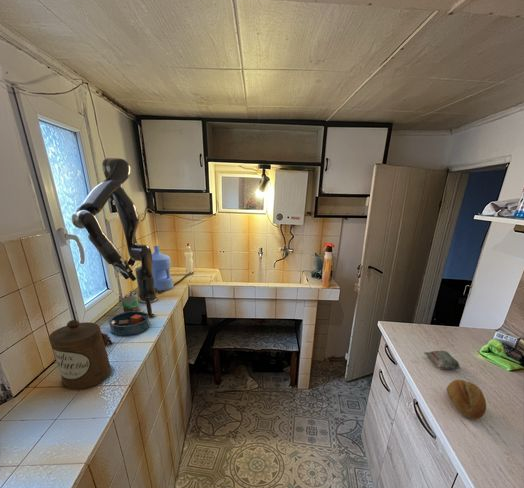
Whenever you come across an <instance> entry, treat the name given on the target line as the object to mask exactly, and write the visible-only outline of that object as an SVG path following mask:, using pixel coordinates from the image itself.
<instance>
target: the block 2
mask: <svg viewBox="0 0 524 488" xmlns="http://www.w3.org/2000/svg"><path fill="white" fill-rule="evenodd" d="M130 320H131V325H134V324H138V323H140V322H143V316H142V315H134V316H132V317H130Z"/></svg>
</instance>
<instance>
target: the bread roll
mask: <svg viewBox="0 0 524 488" xmlns="http://www.w3.org/2000/svg"><path fill="white" fill-rule="evenodd" d="M446 393H447V395H448V398H449V399H450V401H451V403H452V405H454V407H455V409H456V410H458V412H460V413H461V414H462V415H463V416H465V417H467V418H469V419H472V420H478V419H481V418H482V417H483V416H484V415H485V414H486V410H487V401H486V397H485V395H484V393H483V391H482V390H481V389H480V387H479V386H478V385H477V384H475V383H472V382H470V381H467V380H463V379H454V380H452V381H451V382H450V383H449V384H448V385H447V386H446Z"/></svg>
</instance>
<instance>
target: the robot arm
mask: <svg viewBox="0 0 524 488" xmlns="http://www.w3.org/2000/svg"><path fill="white" fill-rule="evenodd" d="M101 166H102V167H101V169H102V172H103V175H104V177H105V179H104V180H103V181H102V182H100V183H99V184H98V185H96V186H94V187H93V189H92V190H91V191H90V192H89V193H88V195H87V196H86V197H85V199H84V201H83V203H81V204H80V205H79V206H78V208H76V209H75V211H74V212H73V213H72V214H71V215H72V216H71V223H72V225H73V226H74V227H75V228H78V229H81V230H84V229H85V230H86V231H87V233H88V236H87V238H88V241H90V242H91V244H92V245H93V246H94V247H95V249H96V250H97V252H98V253H99V254H100V256H101V257H102V258H103V259H104V261H105V262H106V263H107V264H108V265H111V266H112V267H113V268H114V269H115V271H116V272H117V273H119V274H120V275H121V276H122V277H123V278H124V280H128V279H130V280H131V282H135V281H136V283H137V290H138V296H139V302H140V303H142V304H146V301H145V297H150V303H151V304H152V303H154V302H156V301H157V293H158V294H162V293H164V292H165V291H164V290H163V291H159V290H157V288H155V285H154V278H153V271H152V268H153V262H152V254H153V252H152V249H151V247H150V246H149V245H148V244H138V239H137V230H138V228H139V225H140V218H139V217H140V216H139V213H138V209H137V206H136V205H135V203H134V201H132V199H131V198H130V196H129V195H128V193H127V192H126V191H125V188H124V187H123V184H124V183H125V182H126V181H128V179H129V178H130V176H131V166H130V164H129V162H128V161H127V160H126V159H123V158H120V157H119V158H118V157H106V158H104V159H103V160H102V165H101ZM111 197H112V198H113V201H114V204H115V207H116V210H117V211H116V212H117V214H118V218H119V221H120V223H121V227H122V230H123V234H124V238H125V243H126V247H127V252H128V255H129V258H130V259H131V260H132V261H134V262H141V263H140V266H137V267H135V268H134V271H133V270H132V268H131V267H130V266H129V264H128V263H127V262H126V261H123V260H121V259H122V258H123V254H122V253H121V252H120V250H119V249H118V248H117V246H116V245H115V244H114V242H112V241H111V240H110V238H109V237H108V236H107V234H106V233H105V232H104V230H103V228H102V226H101V224H100V221H99V220H98V218H97V217H96V215H98V214H99V213H100V212H102V210H103V208H104V207H105V206H106V204H107V203H108V201H109V199H110V198H111ZM133 272H135V273H133ZM191 272H192V273H191ZM134 274H135V275H134ZM191 274H194V272H193V271H189V272H188V273H187V274H185V275H184V276H183V277H182V278H180V279H179V280H178V281H176V282H175V283H173V285H174V286H176V285H177V284H179V283H181V282H182V281H183V280H184V279H186V277H188V276H190V275H191Z"/></svg>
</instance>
